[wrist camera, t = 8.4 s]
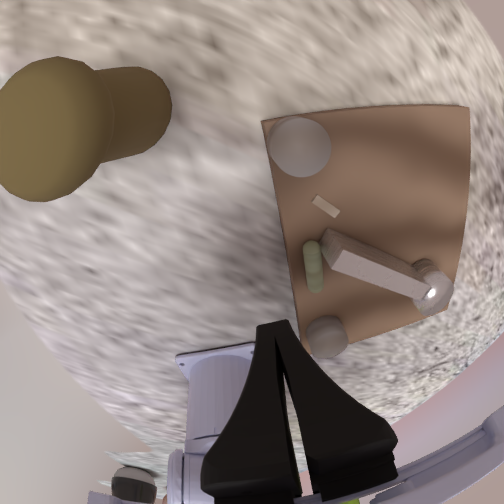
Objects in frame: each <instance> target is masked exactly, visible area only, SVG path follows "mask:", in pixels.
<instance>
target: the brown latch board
mask: <svg viewBox="0 0 504 504" xmlns="http://www.w3.org/2000/svg"><path fill="white" fill-rule="evenodd" d="M261 124H262V129H263V133H264V138H265V143H266V148H267V153H268V158H269V163H270V168H271V173H272V178H273V183H274V188H275V193H276V198H277V204H278V209H279V214H280V220H281V225H282V231H283V236H284V242H285V248H286V254H287V259H288V265H289V271H290V277H291V283H292V290H293V296H294V302H295V308H296V315H297V321H298V328H299V335H300V342H301V344H302V345H303V347H304V348H305V349H306V351H307V352H308V353H309V355H310V354H313V356H315V357H317V358H320V359H326V358H331V357H334V356H336V355H338V354H340V353H341V352H342V351H344V350H345V348H346V347H347V345H348V344H351V343H354V342H357V341H361V340H364V339H367V338H370V337H373V336H377V335H380V334H383V333H386V332H389V331H392V330H395V329H397V328H400V327H403V326H406V325H409V324H411V323H414V322H417V321H419V320H422V319H425V318H427V317H430V316H432V315H430V316H424V315H422V314H421V313H420V312H419V310H418V309H417V307H416V306H415V305H414V303H413V302H412V301H411V299H410V298H409V297H408V296H405V295H403V294H400V293H397V292H394V291H391V290H389V289H386V288H383V287H380V286H377V285H375V284H372V283H369V282H366V281H363V280H361V279H358V278H355V277H352V276H349V275H346V274H344V273H341V272H338V271H335V270H332V269H331V268H330V266H329V264H328V262H327V261H326V259H325V257H324V255H323V253H322V252H321V247H320V245H319V242H320V240H321V238H322V236H323V235H324V233H325V231H326V229H327V228H330V229H332V230H335V231H337V232H339V233H342V234H344V235H346V236H349V237H351V238H353V239H356V240H358V241H360V242H362V243H365V244H367V245H369V246H371V247H374V248H376V249H378V250H380V251H383V252H385V253H387V254H389V255H391V256H393V257H396V258H398V259H400V260H402V261H404V262H406V263H409V264H411V265H414V264H415V263H416V262H418V261H420V260H424V259H428V260H431V261H432V262H433V263H434V264H435V265H436V266H437V267H438V268H439V269H440V270H441V271H442V272H443V273H444V274H445V275H446V276H447V277H448V278H449V279H450V280H451V281H452V282H453V285H454V281H455V277H456V272H457V268H458V263H459V258H460V253H461V247H462V242H463V235H464V229H465V222H466V214H467V205H468V194H469V180H470V155H471V137H470V111H469V107H464V106H459V105H429V104H420V105H385V106H369V107H356V108H346V109H336V110H327V111H319V112H312V113H305V114H298V115H292V116H286V117H280V118H275V119H269V120H264V121H261ZM449 301H450V300H449ZM448 304H449V302H448V303H447V305H446V306H445V307H444V308H443V309H442V310H440V311H439V312H437V313H440V312H442V311H445V310H447V308H448ZM437 313H436V314H437ZM433 315H435V314H433Z"/></svg>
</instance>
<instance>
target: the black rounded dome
mask: <svg viewBox="0 0 504 504" xmlns="http://www.w3.org/2000/svg"><path fill="white" fill-rule="evenodd" d="M111 487H112V496H115V497H117V498H119V499H121V500H125V501H131V502H139V503H147V504H154V502H155V498H156V493H157V487H156V486H155V482H154V479H153V478H152V476H151V475H150V474H149V473H147V472H146V471H144V470H141V469H138V468H134V467H123V468H120V469H119V470H117V471H116V473H115V474H114V477H112V482H111Z"/></svg>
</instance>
